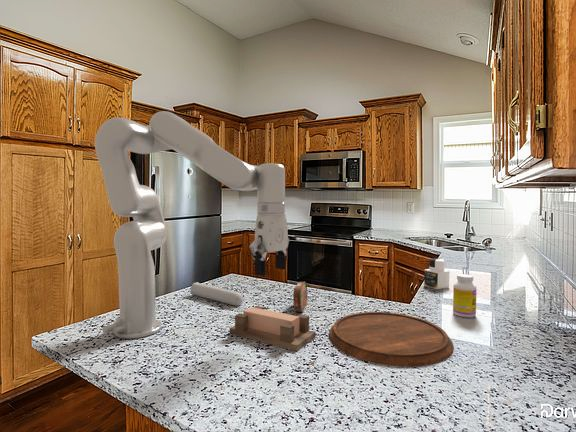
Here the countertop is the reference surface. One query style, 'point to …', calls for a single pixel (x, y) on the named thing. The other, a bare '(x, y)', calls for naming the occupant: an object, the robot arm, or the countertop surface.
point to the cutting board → (391, 339)
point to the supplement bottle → (464, 296)
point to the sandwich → (300, 296)
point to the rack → (282, 340)
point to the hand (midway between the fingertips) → (270, 271)
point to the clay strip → (270, 320)
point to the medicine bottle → (436, 274)
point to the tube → (217, 294)
